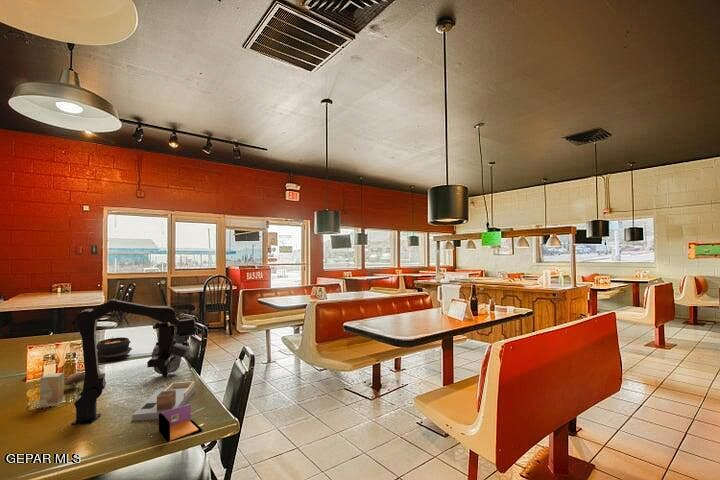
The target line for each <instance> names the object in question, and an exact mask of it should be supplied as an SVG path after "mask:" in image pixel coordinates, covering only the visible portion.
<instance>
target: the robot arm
mask: <svg viewBox="0 0 720 480" xmlns="http://www.w3.org/2000/svg"><path fill="white" fill-rule="evenodd" d="M112 311H113V312H121V313H123V314H124V313H127V314H131V315H139V316H144V317H148V318H151V319H153V320H156V322H155V324H154V325H152V330H156V329H157V332H158V340H157V342H155V346H156V345H158V352H157V353H156V356H159V357H153V358H152V357H151V358H150V359H149V360H148V361H147V363H146V364H147V367H146V368H154V367H158V369H159V370H160V372H161V374H160V375H161V376H162V378H164V379H167V378H168V377H169V374H170V373H169V370H170V367H171V364H172V362H173V361H174V360H175V359H176V358H177V357H173V356H172V355H173V354H174V355H178V356H180V357H181V358H185V357H186V356H187V355H188V354H189V351H190V350H191V346H190V342H189V341H186V340H185V341H183V342H182V343H179V342H178V341H177V339H176V338H175V335H177V336H178V337H179V338H181V337H182V338H183V337H189V336H195V334H196V333H195V332H196V328H195V318H187V319H179V317H177V316H176V314H175V310H174V308H173V307H172V306H169V305H146V304H141V303H135V302H129V301H125V300H124V301H123V300H120V299H117V298H110V299H109V300H107V301H106V302H104V303H102V304H99V305H97V306H96V307H93V308H85V309H83V310H81V312H79V313H78V314H77V315H76V317H75V324H76V327H77V331H78V333H79V334H80V336H81V343H82V344H81V347H82V355H83V366H84V374H85V379H84V382H83V385H82V391H81V392H80V393H79V394H78V395H77V397H76V399H75V401H74V403H73V405H74V407H75V420H73V421H72V422H71V423H70V425H71V426H73V425H74V426H75V425H85V424H92V423H93V422H94V421H96V420H97V419H98V418H99V417H101V416H102V413H97V411H98V409H97V407H98V406H97V404H98V402H97V399H98V398H100V397H101V395H102V393H103V390H105V388H106V385H107V381H106V372H104V373H101V372H100V369H99V360H98V359H99V357H97V346H96V345H97V337H96V331H97V327H98V319H101V318H102V317H104V316H105V315H107V314H109V313H111V312H112ZM160 322H161V323H160ZM168 323H169V324H168Z"/></svg>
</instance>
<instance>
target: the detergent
mask: <svg viewBox="0 0 720 480" xmlns="http://www.w3.org/2000/svg"><path fill="white" fill-rule="evenodd" d="M167 323H168V324H170V323H169V322H167ZM156 339H157V341H158V331H157V333H156ZM157 352H158V345H156V344H155V345H154V347H153V350H152V352H151V358H153V357H159V356H156V353H157ZM172 356H173V357H177V358H176V359H175V360H174V361H173V362H172V364H171V367H170V370H169V374H171V373H175V372H177V371H178V370H179V368H180V366H181V362H182V357H180V356H178V355H174V354H173V355H172ZM153 370H154V371H155V372H156V373H157V374H159V375H162V374H161V372H160V370H159V369H158V367H153Z"/></svg>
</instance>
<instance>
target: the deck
mask: <svg viewBox="0 0 720 480" xmlns="http://www.w3.org/2000/svg"><path fill="white" fill-rule="evenodd" d="M195 387H196V386H195V381H193V380H192V381H181V382H180V381H178V382H172V383H171V384H170V385H169V386H168V387H159V388H157V390H156V391H155V392H154V393H153V394H152V395H151V396H150V397H149V398H148V399H146V401H144V403H143V404H142V405H141V406H139V408H137V409H136V410H135V412H134V413H132V415H131V419H132V420H131V421H146V420H159V414H160V413H161V412H164V411H167V410H171V409H167V410H156V409H157V396H158V395H159V394H160V393H161V391H171V390H176V403H175V405H174V406H173V408H172V409H174V408H177V407H180V406H183V405H186V403H187V402H188V400H189V399H190V397H192V395H193V394H194V393H195V391H196V390H195ZM175 417H176V416H173V417H172V419H174V418H175Z"/></svg>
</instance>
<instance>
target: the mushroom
mask: <svg viewBox="0 0 720 480" xmlns="http://www.w3.org/2000/svg"><path fill="white" fill-rule="evenodd" d="M84 379H85V373H83V372H75V373H72V374H70V375H68V376H67V377H66V378H65V379H64V386H70V387H69V389H70V390H73V389H76V388H77V387H78V386H79V384H82V383H84Z"/></svg>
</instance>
